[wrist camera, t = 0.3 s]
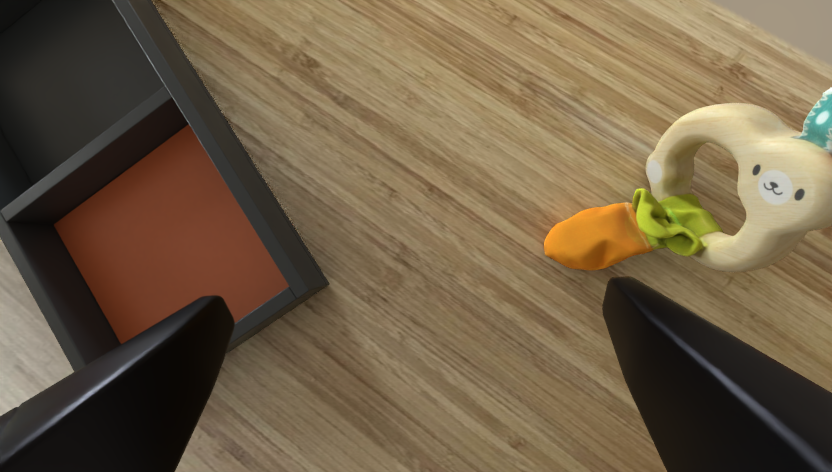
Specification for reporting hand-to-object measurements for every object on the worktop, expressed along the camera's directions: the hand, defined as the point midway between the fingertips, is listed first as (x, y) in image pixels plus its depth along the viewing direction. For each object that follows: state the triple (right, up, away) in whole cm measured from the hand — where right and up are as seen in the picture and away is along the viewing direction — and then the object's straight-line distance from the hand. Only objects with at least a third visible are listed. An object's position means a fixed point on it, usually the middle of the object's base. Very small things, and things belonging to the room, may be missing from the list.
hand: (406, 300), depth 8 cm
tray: (-18, +6, +14) cm, 24 cm away
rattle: (+11, +3, +11) cm, 16 cm away
